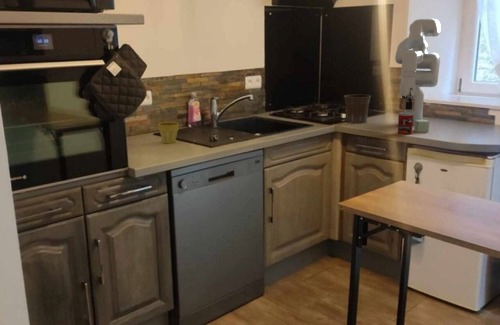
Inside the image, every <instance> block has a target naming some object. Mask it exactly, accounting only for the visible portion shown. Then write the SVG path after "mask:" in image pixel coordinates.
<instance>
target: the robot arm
mask: <svg viewBox="0 0 500 325" xmlns="http://www.w3.org/2000/svg"><path fill="white" fill-rule="evenodd" d="M441 29H442V28H441V23H440V21H439V20H438V19H435V18H426V19H425V18H421V19H419V18H418V19H416V20H414V21H413V22H412V23H411V24H410V25H409V30H408V31H409V34H408V37H406V38H405V39H403V40H402V41H401V42H400V43H399V44H398V45H397V48H396V53H395V58H394V59H395V62H396V63H397V64H398V65H401V71H400V72H401V74H400V77H401V79H400V84H399V86H400V87H399V95H400V96H401V98H407V102H406V109H412V102H413V98H414V99H415V104H414V110H405V112H409V113H413V126H414V120H423V112H424V110H423V109H424V99H425V98H424V96H425V95H424V94H425V93H424V92H423V90H422V88H435V87H436V86H437V85H438V81H439V71H440V63H441V61H440V60H441V59H440V54H438V53H436V52H428V48H429V44H428V43H427V41H426V40H425V37H427V38H428V37H438V36H439V35H440V33H441ZM408 98H409V99H408Z"/></svg>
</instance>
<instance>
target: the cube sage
mask: <svg viewBox="0 0 500 325" xmlns="http://www.w3.org/2000/svg"><path fill="white" fill-rule="evenodd" d="M429 130H430V121H429V120H426V119H422V120H414V125H413V131H415V132H416V133H429Z"/></svg>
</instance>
